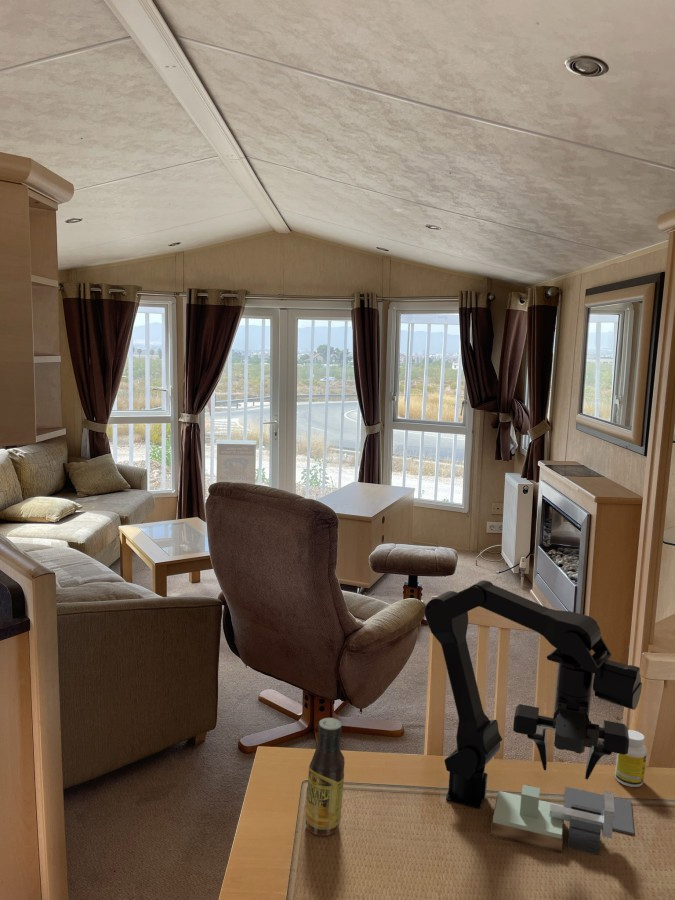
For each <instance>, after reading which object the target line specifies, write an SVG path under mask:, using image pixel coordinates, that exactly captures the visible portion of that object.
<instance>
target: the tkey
mask: <svg viewBox="0 0 675 900" xmlns="http://www.w3.org/2000/svg"><path fill="white" fill-rule="evenodd" d="M603 795H604V799H603V808H602V816H601V815H597V814H592V813H588V812H583V811H579V810H575V809H570V808H566V807H562V806H557V805H553V804H550V815H549V817H552V818H557V819H561V820H564V822H565V821H566V822H568V823H569V822H570V819H571V816H574V817H579V818H583V819H587V820H592V821H596V822H600V823H601V837H604V838H607V839H613V838H612V837H613V831H614V830H613V821H614V791H613V792H612V791H608V790H606V789H605V790H603Z"/></svg>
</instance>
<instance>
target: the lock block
mask: <svg viewBox="0 0 675 900" xmlns="http://www.w3.org/2000/svg"><path fill="white" fill-rule="evenodd" d="M571 809H575V810H579V811H583V812H588V813H592V814H597V815H601V810H597V809H592V808H588V807H584V806H579V805H575V804H571ZM568 823H569V824H568V836H567V837H568V839H567V840H568V841H567V848H569V849H573V850H576V851H580V852H585V853H589V854H594V855H597V856H599V852H600V844H601V837H602V829H601V823H600V822H596V821H592V820H587V819H583V818H579V817H574V816H571V819H570V822H569V821H568Z"/></svg>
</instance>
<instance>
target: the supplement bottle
mask: <svg viewBox="0 0 675 900" xmlns="http://www.w3.org/2000/svg"><path fill="white" fill-rule="evenodd" d="M628 735H629V748H628V754H625V755H624V754H619V753H616V761H615V769H614V777H615V779H616V780H617V782H619V783H620V784H622V785H624V786H626V787H630V788H639V787H640V786H642V785H643V784H644V781H645V780H644V779H645V771H646V762H647V755H648V754H647V753H648V750H647V747H646V746H645V739H646V737H645V735H644V734H643V733H641V732H640V731H638V730H633V729H628Z"/></svg>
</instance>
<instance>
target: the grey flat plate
mask: <svg viewBox="0 0 675 900" xmlns="http://www.w3.org/2000/svg"><path fill="white" fill-rule="evenodd" d="M564 787H565V790H564V804H563V806H564V807H566V808H570V809H571V804H575V805H579V806H584V807H588V808H592V809H597V810H601V816H602V808H603V799H604V794H600V793H597V792H592V791H587V790H583V789H578V788H575V787H570V786H564ZM634 828H635V827H634V818H633V808H632V800H627V799H623V798H619V797H614V821H613V830H612V831H614V832H615V831H616V832H619V833H623V834H626V835H627V834H628V835H632V836H634V835H635V831H634V830H635V829H634Z"/></svg>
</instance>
